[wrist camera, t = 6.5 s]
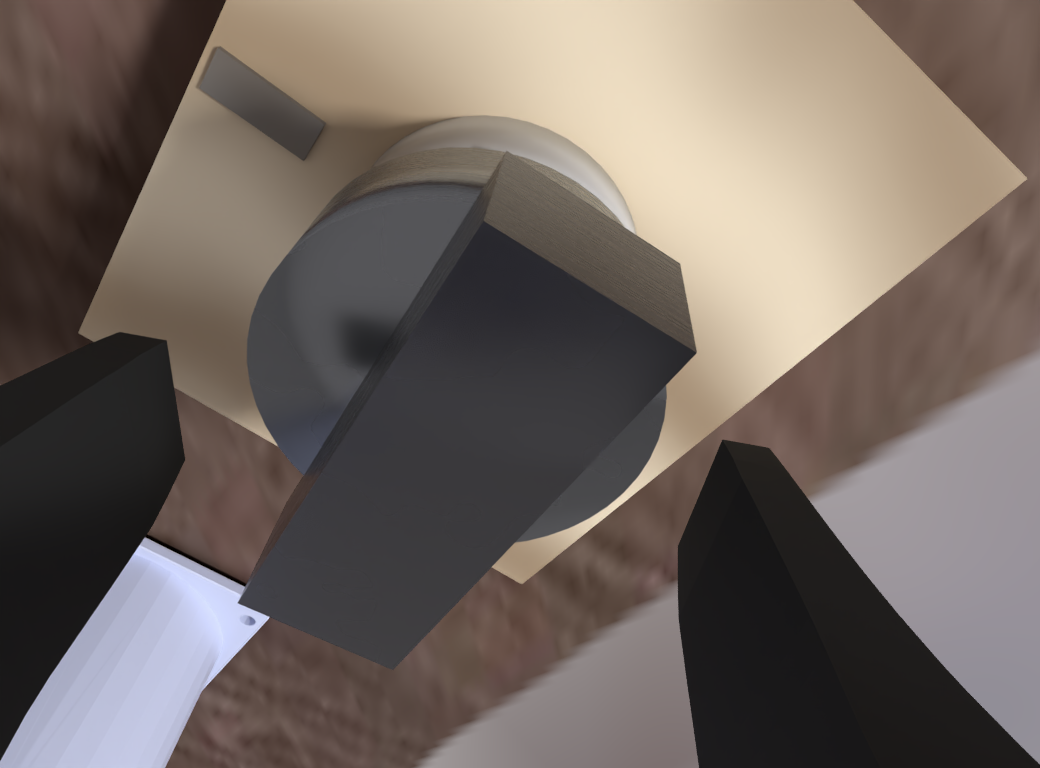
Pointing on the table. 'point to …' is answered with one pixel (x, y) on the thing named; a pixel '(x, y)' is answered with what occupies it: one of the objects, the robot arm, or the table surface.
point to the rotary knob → (451, 386)
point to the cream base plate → (563, 170)
